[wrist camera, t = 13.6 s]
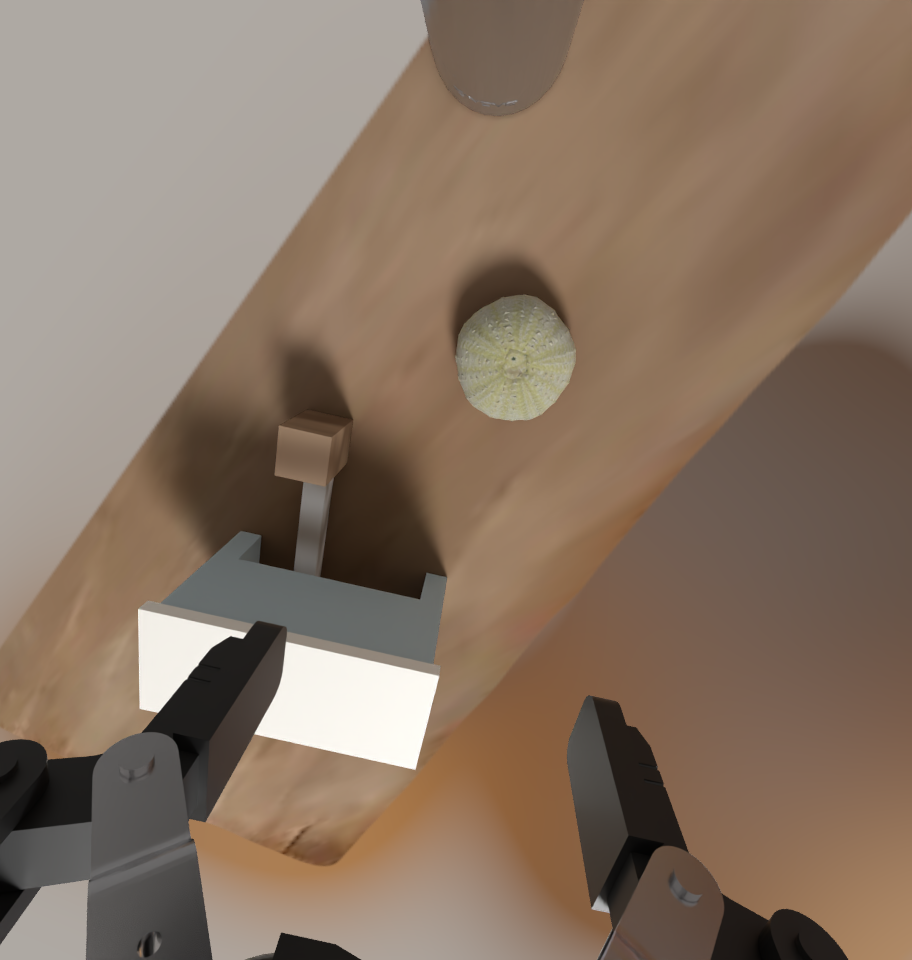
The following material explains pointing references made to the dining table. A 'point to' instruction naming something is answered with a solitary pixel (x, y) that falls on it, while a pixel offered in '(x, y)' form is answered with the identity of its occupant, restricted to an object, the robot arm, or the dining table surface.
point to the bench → (306, 651)
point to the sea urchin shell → (514, 358)
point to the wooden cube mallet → (313, 476)
